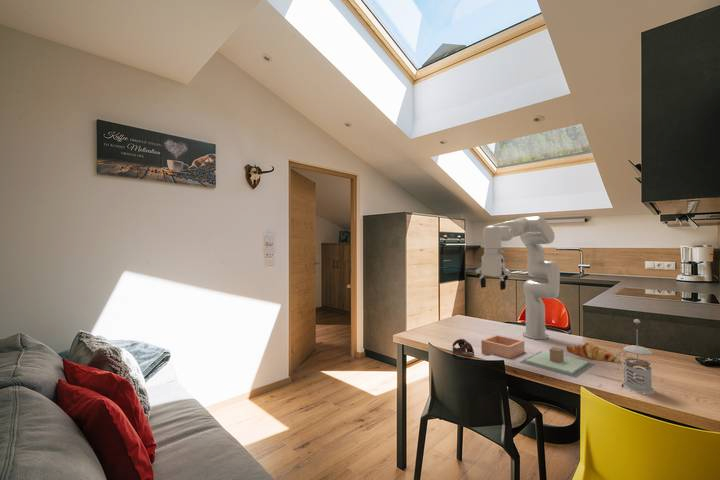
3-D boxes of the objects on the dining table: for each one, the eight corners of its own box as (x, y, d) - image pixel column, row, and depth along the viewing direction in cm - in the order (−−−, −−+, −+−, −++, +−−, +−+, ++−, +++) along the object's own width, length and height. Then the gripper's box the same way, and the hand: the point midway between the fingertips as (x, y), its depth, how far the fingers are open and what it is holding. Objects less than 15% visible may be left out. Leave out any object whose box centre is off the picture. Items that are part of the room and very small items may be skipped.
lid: (543, 353, 159) (543, 340, 159) (588, 363, 145) (587, 349, 145) (525, 362, 147) (525, 348, 147) (572, 374, 133) (572, 359, 133)
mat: (540, 353, 162) (540, 351, 162) (595, 366, 145) (595, 363, 145) (519, 364, 148) (519, 362, 148) (576, 380, 131) (576, 377, 131)
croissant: (622, 371, 148) (625, 353, 150) (616, 365, 142) (619, 347, 144) (568, 357, 164) (571, 341, 167) (561, 352, 158) (564, 335, 161)
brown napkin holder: (478, 359, 157) (470, 344, 155) (459, 366, 158) (451, 352, 157) (471, 344, 168) (464, 331, 167) (454, 352, 170) (446, 338, 168)
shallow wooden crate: (496, 346, 172) (496, 334, 172) (524, 353, 162) (524, 340, 162) (481, 352, 163) (481, 340, 163) (510, 360, 153) (509, 347, 153)
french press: (645, 396, 117) (644, 323, 117) (609, 383, 127) (608, 316, 127) (661, 391, 121) (661, 320, 121) (625, 379, 131) (624, 314, 131)
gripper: (514, 252, 157) (514, 289, 157) (480, 251, 170) (480, 285, 170) (506, 252, 152) (506, 291, 152) (471, 252, 165) (472, 287, 165)
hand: (492, 288), depth 161 cm, fingers open, 9 cm apart
